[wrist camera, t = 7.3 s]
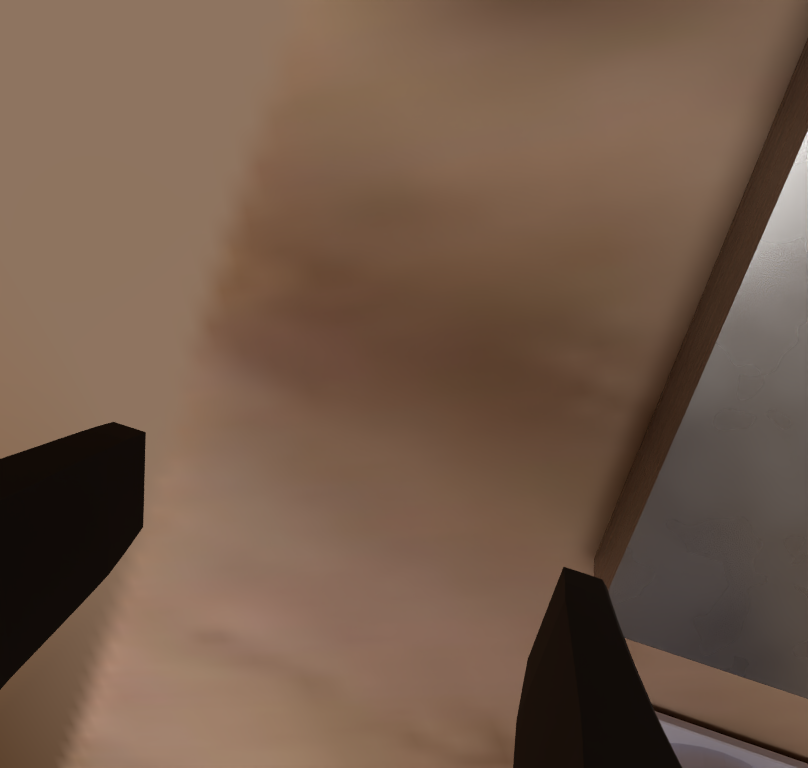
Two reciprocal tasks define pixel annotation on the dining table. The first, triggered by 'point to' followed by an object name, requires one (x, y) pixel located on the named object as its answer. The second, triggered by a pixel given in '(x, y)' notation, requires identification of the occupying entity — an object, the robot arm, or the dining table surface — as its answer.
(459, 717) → the dining table surface
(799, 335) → the chassis
